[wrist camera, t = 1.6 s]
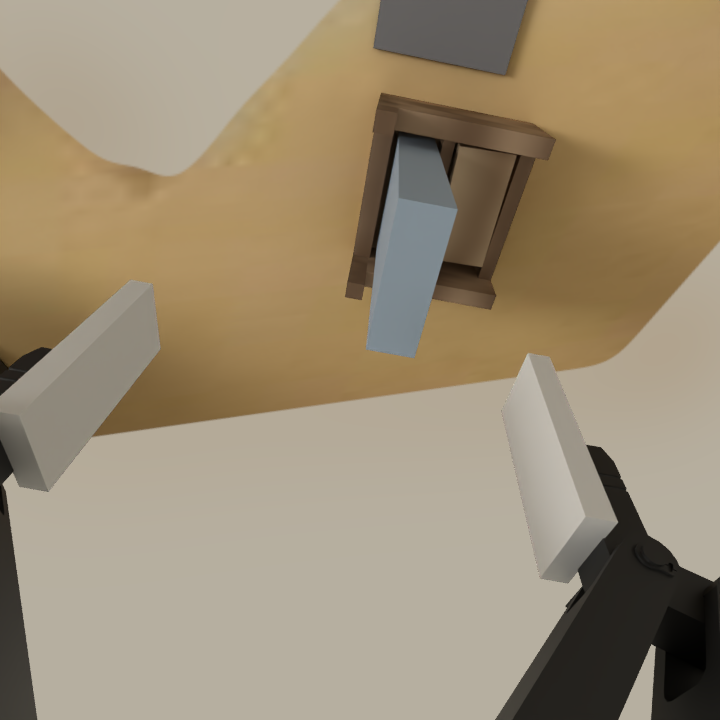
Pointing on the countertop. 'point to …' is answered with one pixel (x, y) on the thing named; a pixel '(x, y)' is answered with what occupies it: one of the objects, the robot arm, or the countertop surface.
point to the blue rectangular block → (409, 245)
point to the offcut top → (476, 200)
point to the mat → (452, 30)
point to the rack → (447, 130)
